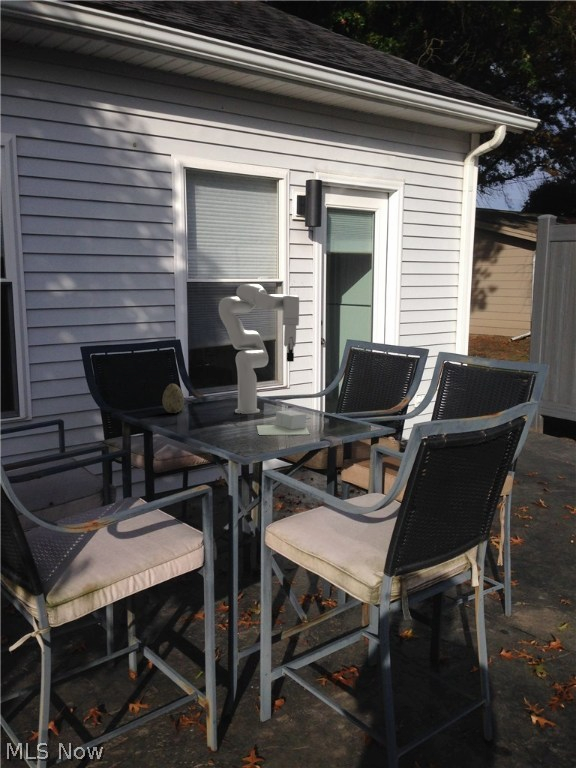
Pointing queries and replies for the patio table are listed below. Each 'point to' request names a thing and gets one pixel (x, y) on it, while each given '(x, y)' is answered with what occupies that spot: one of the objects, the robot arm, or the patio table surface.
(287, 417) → the small box
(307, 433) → the mat
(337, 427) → the patio table surface
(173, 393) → the decorative egg
